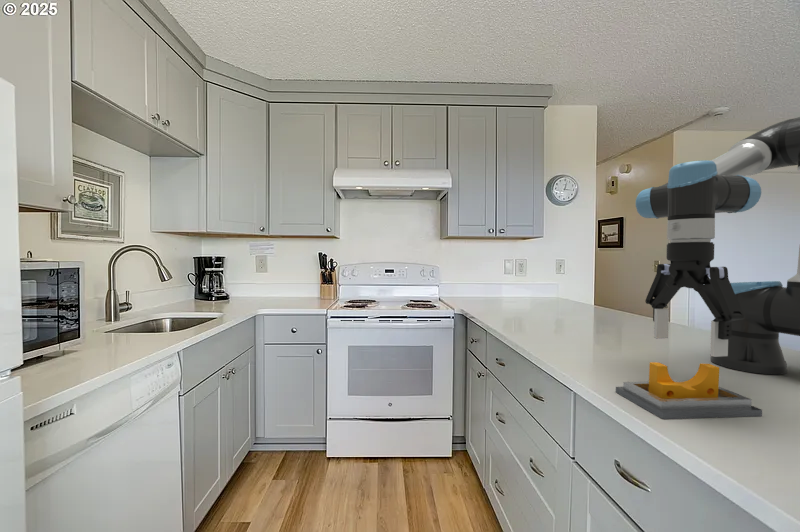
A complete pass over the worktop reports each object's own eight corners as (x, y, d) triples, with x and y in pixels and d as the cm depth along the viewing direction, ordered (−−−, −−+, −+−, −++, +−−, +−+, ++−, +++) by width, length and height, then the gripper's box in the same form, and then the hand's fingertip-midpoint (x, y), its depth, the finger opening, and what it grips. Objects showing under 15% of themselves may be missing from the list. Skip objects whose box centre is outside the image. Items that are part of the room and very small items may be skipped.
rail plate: (700, 390, 83) (700, 378, 83) (761, 416, 70) (762, 402, 70) (615, 392, 81) (615, 380, 81) (662, 419, 68) (663, 404, 68)
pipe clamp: (661, 401, 73) (663, 368, 73) (648, 392, 78) (649, 362, 77) (725, 402, 73) (726, 370, 73) (708, 394, 77) (709, 363, 77)
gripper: (628, 242, 86) (627, 332, 87) (733, 240, 61) (730, 366, 62) (658, 242, 87) (657, 331, 88) (775, 239, 62) (770, 364, 63)
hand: (687, 346), depth 75 cm, fingers open, 13 cm apart
